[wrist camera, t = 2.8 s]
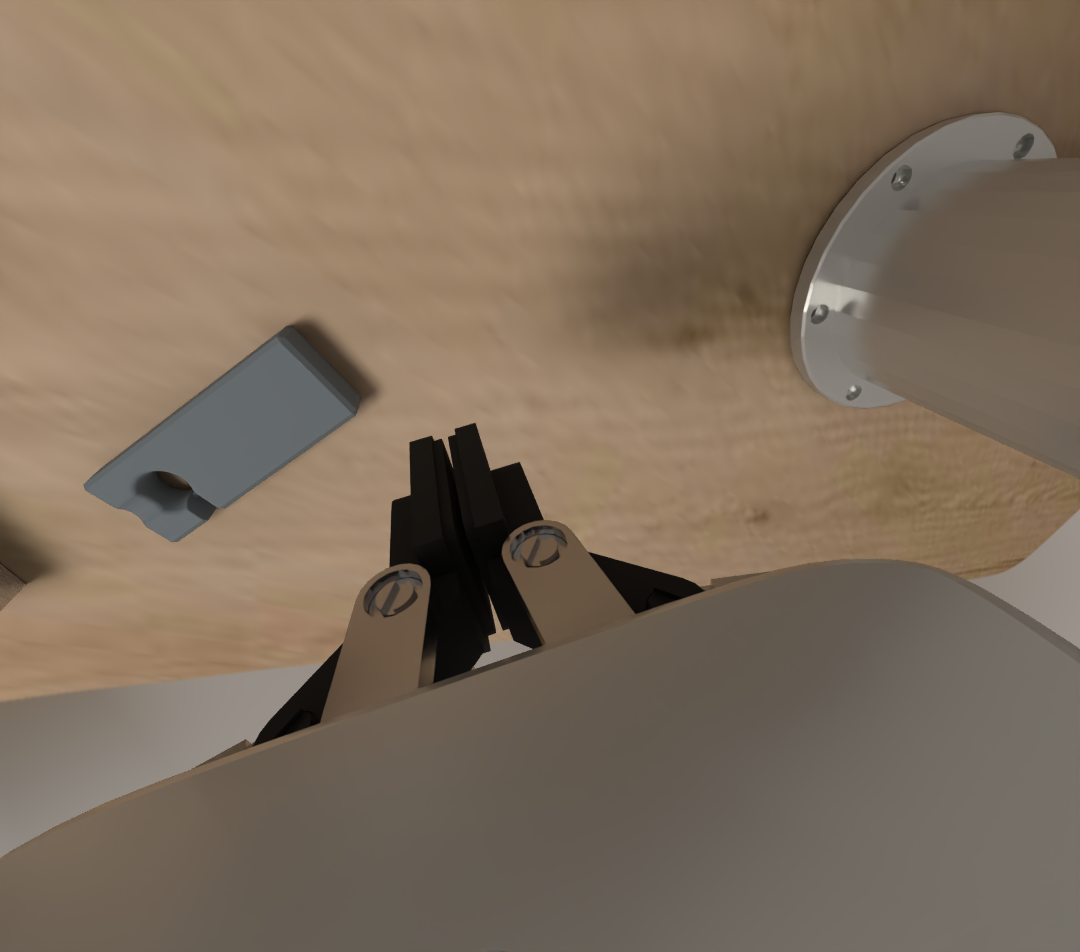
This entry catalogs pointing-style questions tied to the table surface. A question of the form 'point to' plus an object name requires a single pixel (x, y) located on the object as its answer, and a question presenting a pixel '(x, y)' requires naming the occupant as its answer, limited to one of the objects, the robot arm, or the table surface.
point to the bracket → (229, 437)
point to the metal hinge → (8, 586)
